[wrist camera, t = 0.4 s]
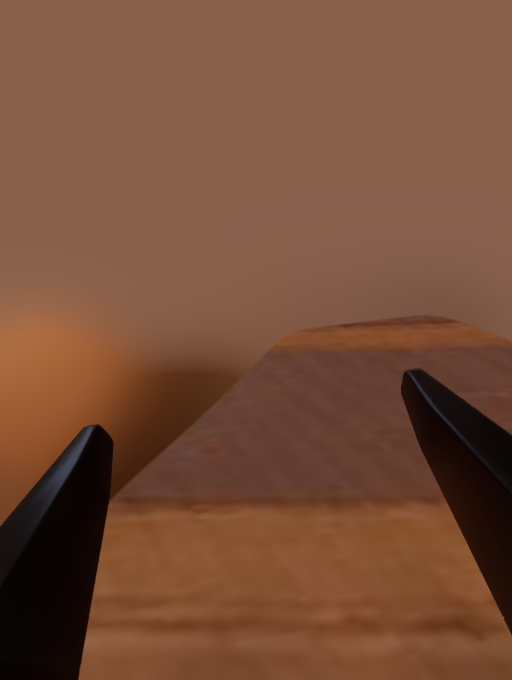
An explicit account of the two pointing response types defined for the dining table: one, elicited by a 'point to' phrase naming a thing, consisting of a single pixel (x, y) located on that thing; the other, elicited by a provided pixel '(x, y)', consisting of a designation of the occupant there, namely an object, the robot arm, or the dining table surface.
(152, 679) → the dining table surface
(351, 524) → the dining table surface
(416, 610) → the dining table surface
